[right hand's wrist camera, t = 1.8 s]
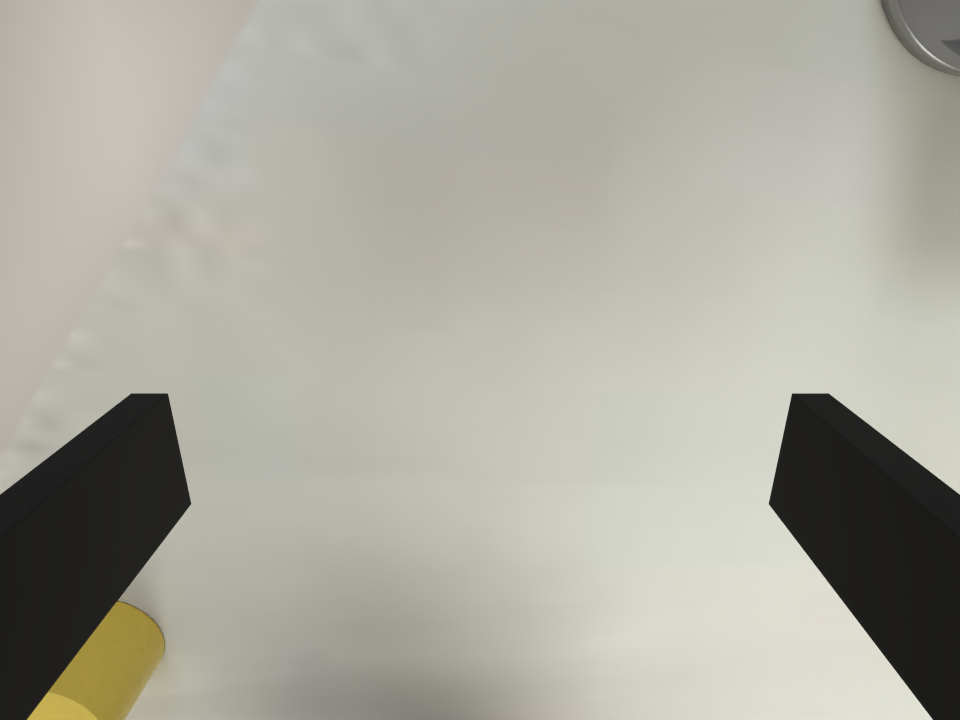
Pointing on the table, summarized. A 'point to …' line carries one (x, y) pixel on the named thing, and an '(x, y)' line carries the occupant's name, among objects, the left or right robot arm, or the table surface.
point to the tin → (106, 670)
